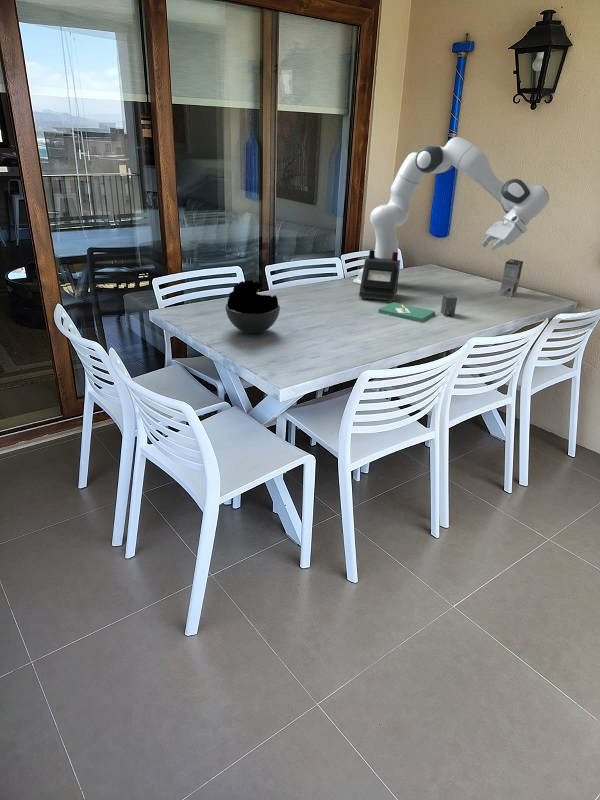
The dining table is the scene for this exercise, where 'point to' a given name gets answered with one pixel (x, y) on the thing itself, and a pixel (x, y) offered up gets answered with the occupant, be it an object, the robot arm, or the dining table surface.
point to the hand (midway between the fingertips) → (487, 247)
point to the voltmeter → (380, 277)
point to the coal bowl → (251, 308)
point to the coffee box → (511, 277)
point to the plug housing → (448, 305)
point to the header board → (407, 312)
